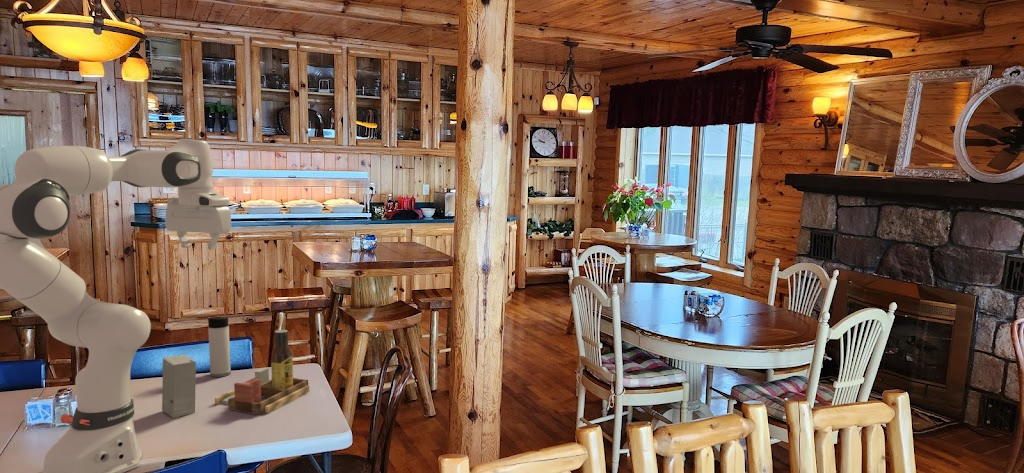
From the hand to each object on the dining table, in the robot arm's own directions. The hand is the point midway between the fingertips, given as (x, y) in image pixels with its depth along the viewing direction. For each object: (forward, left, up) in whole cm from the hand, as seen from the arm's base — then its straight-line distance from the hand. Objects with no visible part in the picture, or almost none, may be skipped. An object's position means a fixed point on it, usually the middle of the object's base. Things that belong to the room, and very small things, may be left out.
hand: (198, 248), depth 183 cm
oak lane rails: (+17, -6, -48) cm, 51 cm away
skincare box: (-1, +9, -48) cm, 49 cm away
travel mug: (+29, +23, -48) cm, 61 cm away
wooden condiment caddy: (+16, -8, -48) cm, 51 cm away
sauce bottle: (+22, -8, -48) cm, 54 cm away
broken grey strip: (+17, +1, -48) cm, 51 cm away
